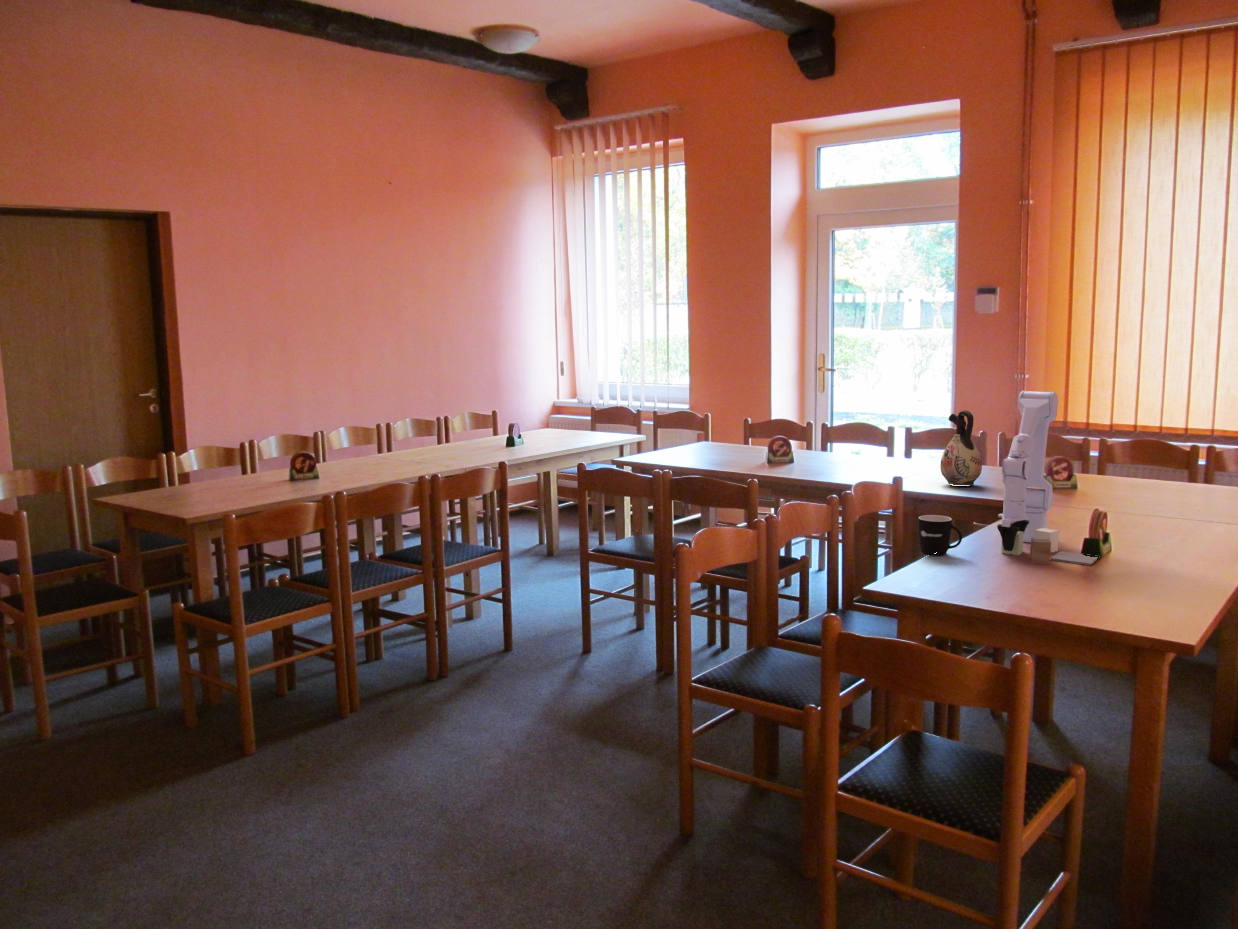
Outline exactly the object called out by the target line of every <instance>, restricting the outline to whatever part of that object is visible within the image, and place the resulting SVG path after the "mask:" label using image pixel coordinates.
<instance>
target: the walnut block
mask: <svg viewBox="0 0 1238 929" xmlns="http://www.w3.org/2000/svg"><path fill="white" fill-rule="evenodd" d="M1050 552H1051V541H1050V539H1043V538H1031V543H1030V555H1029V559H1030V562H1032V563H1031V564H1037V563H1041V564H1040V565H1043V564H1044V565H1050V564H1051V553H1050Z"/></svg>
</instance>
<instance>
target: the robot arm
mask: <svg viewBox="0 0 1238 929" xmlns="http://www.w3.org/2000/svg"><path fill="white" fill-rule="evenodd" d="M1058 406H1059V398H1058V394H1057V392H1056V391H1034V390H1033V391H1030V390H1029V391H1028V390H1021V391H1020V393H1019V395H1018V396H1017V408H1018V410H1019V415H1021V420H1020V426H1019V431H1018V434H1017V435H1015V436H1014V437H1013V438H1012V442H1011V446H1010V448H1009V452H1008V455H1007V458H1004V459H1003V460H1002V466H1001V474H1002V484H1003V486H1004V488H1003V505H1002V507H1003V509H1002V510H1003V511H1002V513H998V515H997V516H998V518H1001V519H1002V521H1001V524H1000V523H999V524H997V527H996V528H997V530H998V532H999V534H1000V537H1001V543H1002V542H1003V548H1004V550H1006V551H1012V550H1013V547H1014V542H1015V537H1016V534H1017V532H1018V531H1022V532H1024V536H1023V543H1030V544H1031V538H1035V530H1037V529H1041V528H1048V515H1047V512H1048V511H1049V510H1051V509H1052V506H1053V502H1054V496H1053V494H1054V493H1053V490H1054V489H1053V485H1052V484H1051V483H1050V482H1049V481H1048V480H1047V479H1046V478H1044V475H1045V467H1046V466H1045V464H1046V452H1047V447H1048V446H1047V444H1048V436H1049V434H1048V433H1049V427H1050V423H1051V422H1053V421H1056V419H1057V415H1058Z"/></svg>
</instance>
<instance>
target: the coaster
mask: <svg viewBox="0 0 1238 929" xmlns="http://www.w3.org/2000/svg"><path fill="white" fill-rule="evenodd" d="M1083 554H1084V553H1079V552H1070V551H1062V550H1061V551H1057V553H1056V554H1054V555H1053V556H1051V557H1050V561H1052V560H1053V561H1052V562H1059V561H1061V563H1067V562H1069V563H1068V564H1076V565H1082V564H1084V565H1083V566H1090V565H1091V564H1092V565H1093V564H1094V563H1095V562H1096V561H1098V560H1097V558H1098V557H1090V556H1085V555H1083ZM1092 565H1091V566H1092Z"/></svg>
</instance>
